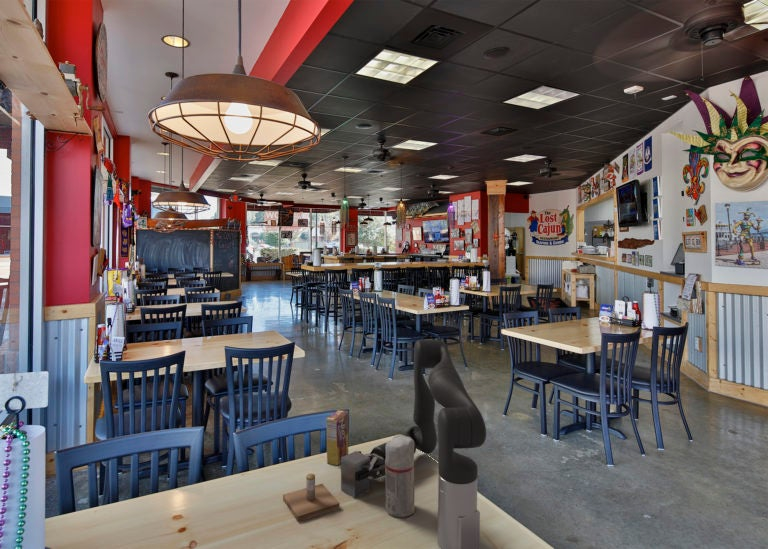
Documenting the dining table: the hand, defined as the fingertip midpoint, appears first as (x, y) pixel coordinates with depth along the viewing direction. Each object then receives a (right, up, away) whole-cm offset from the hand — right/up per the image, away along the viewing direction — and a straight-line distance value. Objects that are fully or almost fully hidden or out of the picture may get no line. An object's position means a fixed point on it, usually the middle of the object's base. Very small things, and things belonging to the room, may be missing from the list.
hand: (349, 473), depth 128 cm
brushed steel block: (+2, -6, +2) cm, 6 cm away
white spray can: (+14, -7, -8) cm, 18 cm away
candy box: (-6, -5, +22) cm, 23 cm away
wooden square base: (-10, -6, -5) cm, 13 cm away
